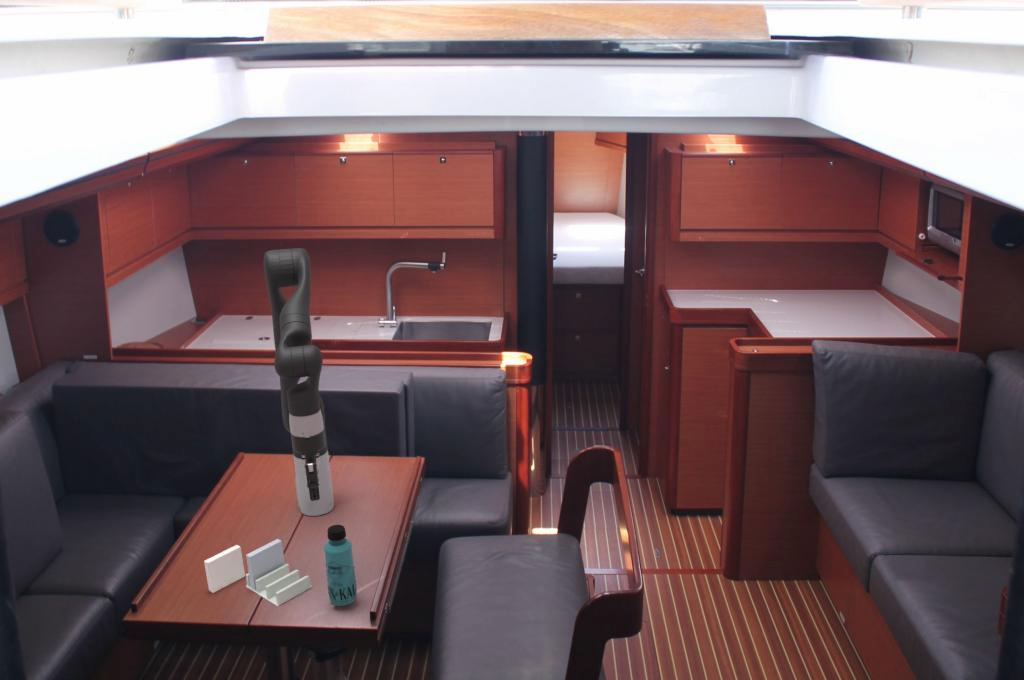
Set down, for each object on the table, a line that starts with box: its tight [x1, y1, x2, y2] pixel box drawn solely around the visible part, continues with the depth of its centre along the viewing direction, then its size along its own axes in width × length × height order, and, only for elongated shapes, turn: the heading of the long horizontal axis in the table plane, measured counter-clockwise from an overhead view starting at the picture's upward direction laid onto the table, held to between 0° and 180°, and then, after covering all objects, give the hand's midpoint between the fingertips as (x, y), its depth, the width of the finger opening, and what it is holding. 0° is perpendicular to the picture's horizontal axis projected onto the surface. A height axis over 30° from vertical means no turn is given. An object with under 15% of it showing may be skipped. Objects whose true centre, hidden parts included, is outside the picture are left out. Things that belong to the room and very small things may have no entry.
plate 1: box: [203, 544, 246, 594], centre depth 231 cm, size 2×9×9 cm, turn 138°
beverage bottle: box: [323, 524, 358, 607], centre depth 221 cm, size 6×7×20 cm
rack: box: [245, 563, 313, 607], centre depth 230 cm, size 10×13×4 cm
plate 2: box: [245, 538, 286, 590], centre depth 231 cm, size 2×9×9 cm, turn 138°
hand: (314, 491), depth 228 cm, fingers open, 8 cm apart
